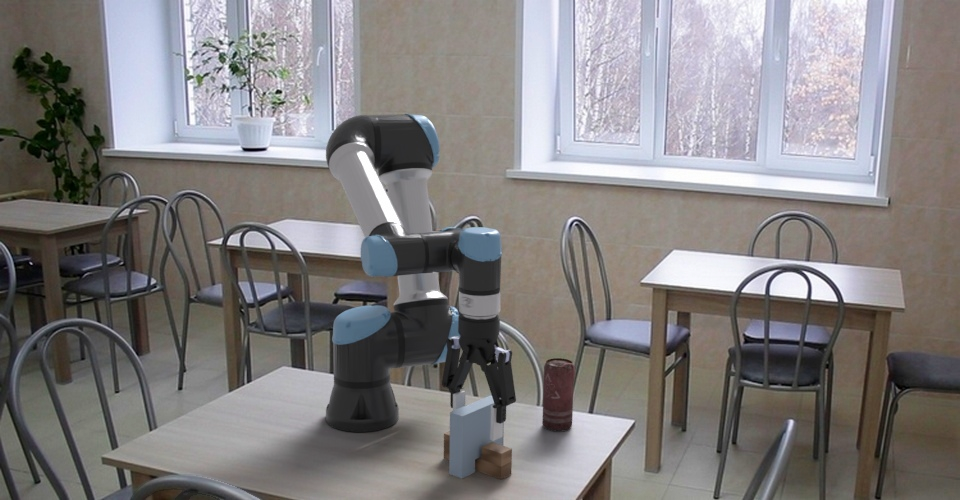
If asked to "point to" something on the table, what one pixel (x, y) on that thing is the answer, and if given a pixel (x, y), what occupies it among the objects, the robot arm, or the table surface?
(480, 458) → the walnut u-shaped block
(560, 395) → the can
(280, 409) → the table surface
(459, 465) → the pale blue upright slab
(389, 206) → the robot arm
